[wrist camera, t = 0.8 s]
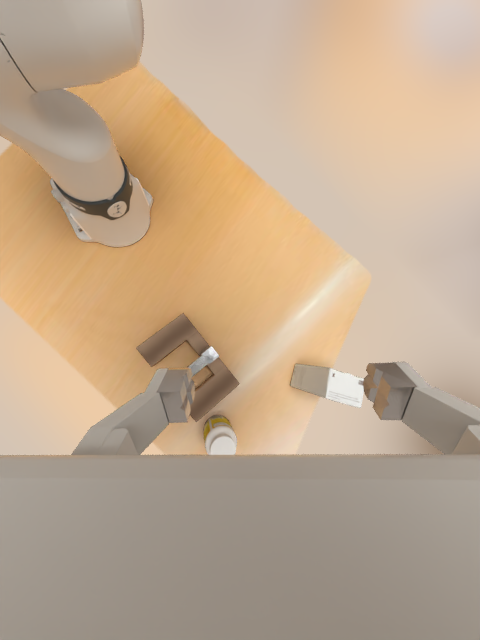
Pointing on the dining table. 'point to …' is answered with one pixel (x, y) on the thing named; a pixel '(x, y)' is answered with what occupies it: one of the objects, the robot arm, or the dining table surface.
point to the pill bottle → (219, 436)
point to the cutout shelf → (184, 330)
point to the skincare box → (329, 384)
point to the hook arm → (203, 359)
